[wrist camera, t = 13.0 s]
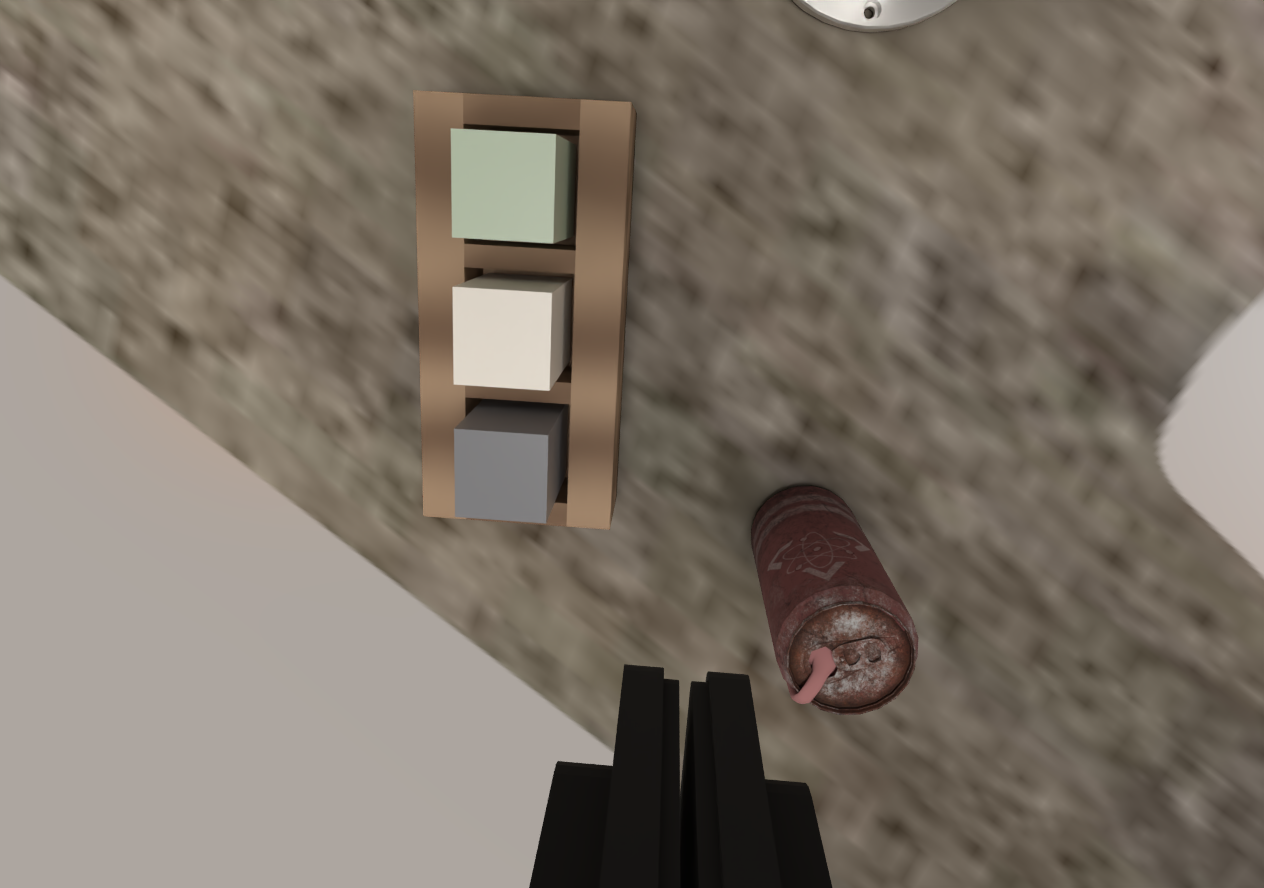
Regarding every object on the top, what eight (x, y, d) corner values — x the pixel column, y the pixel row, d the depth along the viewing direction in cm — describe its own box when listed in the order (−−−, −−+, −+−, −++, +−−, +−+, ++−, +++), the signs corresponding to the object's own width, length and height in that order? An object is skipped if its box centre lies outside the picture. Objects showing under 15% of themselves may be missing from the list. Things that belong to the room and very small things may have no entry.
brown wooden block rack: (443, 103, 41) (413, 90, 37) (636, 113, 41) (631, 101, 36) (449, 484, 48) (423, 516, 43) (616, 496, 47) (609, 529, 42)
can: (727, 546, 48) (746, 681, 34) (792, 463, 46) (838, 571, 33) (809, 599, 48) (859, 751, 35) (875, 519, 47) (955, 647, 33)
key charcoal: (488, 393, 44) (454, 428, 37) (568, 399, 44) (548, 435, 37) (488, 469, 45) (454, 516, 38) (565, 475, 45) (546, 523, 38)
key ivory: (488, 272, 42) (452, 286, 35) (572, 277, 42) (551, 292, 35) (488, 355, 43) (453, 384, 36) (569, 361, 43) (549, 390, 36)
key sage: (488, 140, 40) (450, 128, 33) (576, 145, 40) (556, 134, 33) (488, 231, 41) (452, 237, 34) (573, 236, 41) (553, 243, 34)
